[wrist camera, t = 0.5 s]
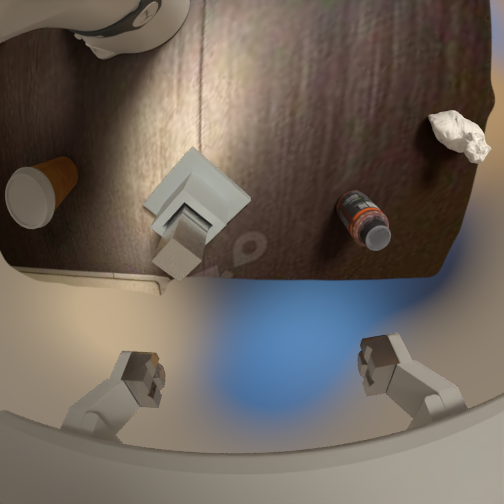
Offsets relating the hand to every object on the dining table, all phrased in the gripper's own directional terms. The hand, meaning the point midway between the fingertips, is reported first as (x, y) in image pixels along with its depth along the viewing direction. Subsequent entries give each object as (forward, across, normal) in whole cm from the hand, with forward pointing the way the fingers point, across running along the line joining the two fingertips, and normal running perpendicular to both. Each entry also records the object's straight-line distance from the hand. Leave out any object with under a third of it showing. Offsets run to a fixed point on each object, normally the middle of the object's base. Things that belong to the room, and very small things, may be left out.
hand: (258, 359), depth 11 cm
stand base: (+37, +10, +4) cm, 38 cm away
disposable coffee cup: (+36, +32, -4) cm, 48 cm away
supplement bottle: (+38, -15, +8) cm, 42 cm away
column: (+35, +10, +5) cm, 37 cm away
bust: (+38, -34, -6) cm, 51 cm away
